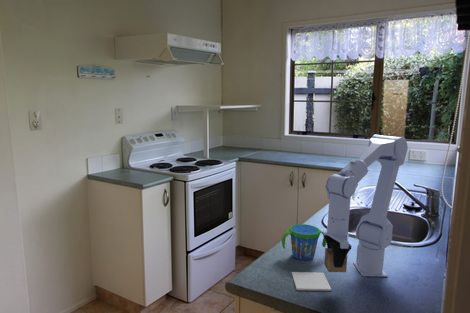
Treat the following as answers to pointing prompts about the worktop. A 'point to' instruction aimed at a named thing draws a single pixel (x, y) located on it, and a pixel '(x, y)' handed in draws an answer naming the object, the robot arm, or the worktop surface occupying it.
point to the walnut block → (330, 264)
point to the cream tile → (310, 281)
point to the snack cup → (303, 240)
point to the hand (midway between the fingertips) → (335, 262)
